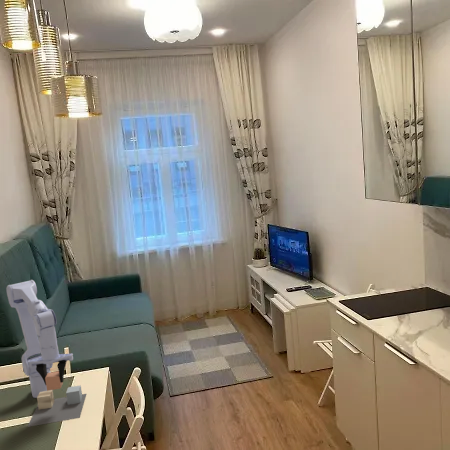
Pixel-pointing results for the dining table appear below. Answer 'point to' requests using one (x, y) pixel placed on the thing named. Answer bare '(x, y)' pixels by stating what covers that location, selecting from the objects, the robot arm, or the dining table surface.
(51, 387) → the terracotta block
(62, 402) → the mat
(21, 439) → the dining table surface
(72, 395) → the slate block
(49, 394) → the birch block
